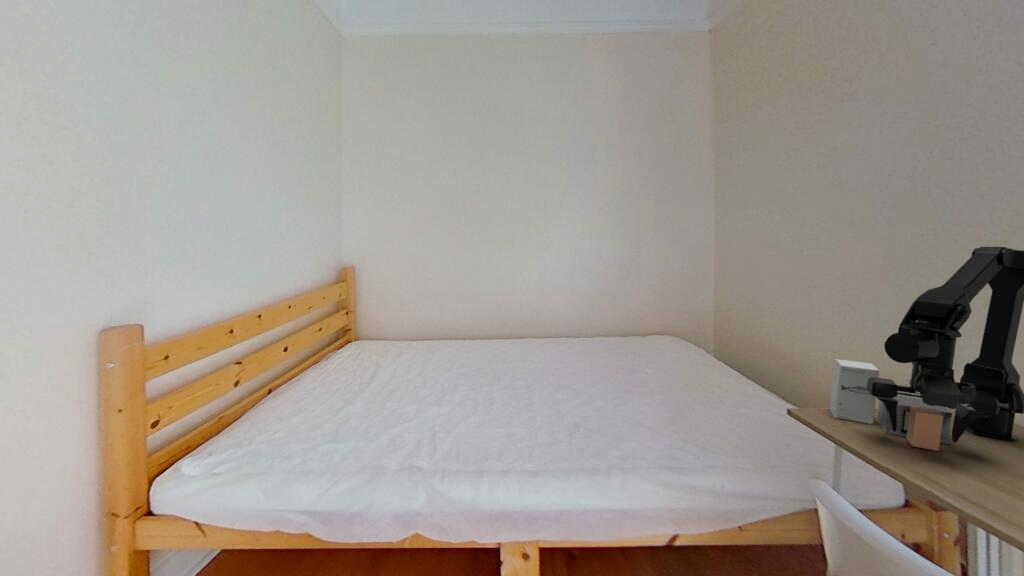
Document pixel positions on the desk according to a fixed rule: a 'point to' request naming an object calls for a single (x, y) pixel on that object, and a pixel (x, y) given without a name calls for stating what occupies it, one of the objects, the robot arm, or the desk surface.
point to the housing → (905, 404)
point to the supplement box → (852, 391)
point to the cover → (923, 427)
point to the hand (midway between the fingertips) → (923, 436)
